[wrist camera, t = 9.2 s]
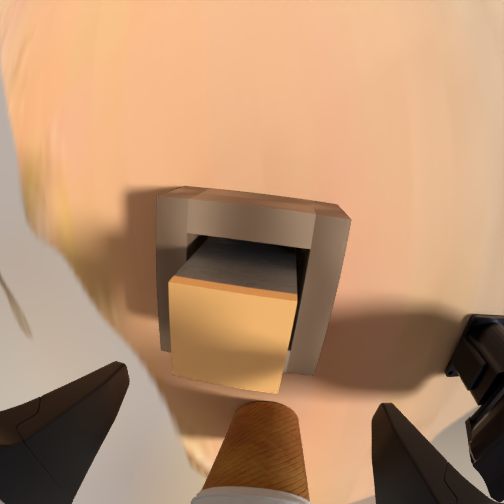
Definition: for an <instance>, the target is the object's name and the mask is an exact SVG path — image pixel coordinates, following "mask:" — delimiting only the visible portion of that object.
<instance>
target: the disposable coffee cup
mask: <svg viewBox="0 0 504 504" xmlns="http://www.w3.org/2000/svg"><path fill="white" fill-rule="evenodd" d="M307 485H308V484H307V477H306V470H305V463H304V455H303V449H302V443H301V435H300V429H299V422H298V417H297V415H296V414H295V412H294V411H292V410H291V409H290V408H288V407H286V406H284V405H282V404H278V403H274V402H263V401H261V402H253V403H249V404H246V405H244V406H242V407H240V408H239V409H238V410H237V411H236V413H235V415H234V418H233V420H232V422H231V425H230V427H229V429H228V432H227V434H226V437H225V439H224V441H223V443H222V446H221V448H220V450H219V453H218V455H217V457H216V459H215V462H214V464H213V466H212V468H211V471H210V473H209V475H208V477H207V479H206V482H205V484H204V486H203V488H202V490H201V491H200V492H199V493H198V494H197V496H196V497H194V498H193V499H192V501H191V504H312V503H310V500H309V493H308V486H307Z"/></svg>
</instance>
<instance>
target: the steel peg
mask: <svg viewBox="0 0 504 504" xmlns="http://www.w3.org/2000/svg"><path fill="white" fill-rule="evenodd" d="M168 284H169V318H170V338H171V354H172V368H173V375H176V376H180V377H184V378H188V379H193V380H197V381H202V382H207V383H212V384H217V385H222V386H228V387H234V388H240V389H246V390H252V391H259V392H266V393H274V394H278V391H279V386H280V382H281V378H282V373H283V369H284V364H285V360H286V355H287V351H288V346H289V341H290V336H291V332H292V327H293V322H294V317H295V312H296V306H297V273H296V250H295V247H290V246H283V245H276V244H268V243H261V242H253V241H246V240H238V239H230V238H223V237H215V236H210V237H209V238H208V239H207V240H206V241H205V242H204V243H203V245H202V246H201V247H200V248H199V249H198V250H197V251H196V252H195V253H194V254H193V255H192V256H191V257H190V259H189V260H188V261H187V262H186V263H185V264H184V265H183V266H182V267H181V268H180V269H179V271H178V272H177V273H176V274H175V275H174V276H173V277H172V278H171V279H170V281H169V282H168Z"/></svg>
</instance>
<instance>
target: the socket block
mask: <svg viewBox="0 0 504 504" xmlns="http://www.w3.org/2000/svg"><path fill="white" fill-rule="evenodd" d="M350 225H351V219H350V218H349V217H348V215H347V214H346V213H345V212H344V211H343V210H342V209H341V208H340V207H339V206H338V205H337V204H331V203H325V202H318V201H311V200H304V199H297V198H290V197H282V196H274V195H266V194H258V193H249V192H240V191H231V190H221V189H211V188H200V187H188V186H184V187H181V188H178V189H176V190H173V191H170V192H167V193H164V194H161V195H159V196H157V204H156V272H157V299H158V317H159V331H160V344H161V350H162V351H167V352H171V338H170V318H169V284H168V282H169V281H170V279H171V278H172V277H173V276H174V275H175V274H176V273H177V272H178V271H179V269H180V268H181V267H182V266H183V265H184V264H185V263H186V262H187V261H188V260H189V259H190V257H191V256H192V255H193V254H194V253H195V252H196V251H197V250H198V249H199V248H200V247H201V246H202V245H203V243H204V242H205V241H206V240H207V239H208V236H215V237H223V238H230V239H238V240H246V241H253V242H261V243H268V244H276V245H283V246H290V247H298V248H303V250H302V256H301V262H300V268H299V274H298V280H297V306H296V312H295V317H294V322H293V327H292V332H291V336H290V341H289V346H288V351H287V355H286V360H285V364H284V369H283V372H285V373H293V374H302V375H313V376H314V373H315V370H316V366H317V363H318V360H319V356H320V353H321V349H322V346H323V342H324V339H325V335H326V331H327V327H328V324H329V320H330V316H331V312H332V308H333V304H334V300H335V296H336V292H337V287H338V283H339V279H340V274H341V270H342V265H343V260H344V256H345V251H346V246H347V241H348V235H349V230H350Z"/></svg>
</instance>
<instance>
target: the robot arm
mask: <svg viewBox="0 0 504 504" xmlns="http://www.w3.org/2000/svg"><path fill="white" fill-rule="evenodd" d="M445 374H446V376H447V377H455V376H460V378H461V380H462V382H463V383H464V385H465V387H466V389H467V390H468V391H469V390H470V392H471V394H472V396H473V397H474V399H475V401H476V403H477V405H481V406H480V407H479V409H478V410H477V411H476V412H475V413H474V414H473V415H472V416H471V417H469V418H468V419H467V420H466V421H465V424H466V430H467V436H468V444H469V452H470V458H471V462H472V464H473V467H474V468H475V469H476V470H477V471H478V472H479V473H480V475H481V476H482V478H483V479H484V481H485V483H486V486H487V488H488V491H489V494H490V496H491V498H493V499H494V500H496V501H498V502H502V501H503V500H504V316H487V315H473V316H472V317H471V318H470V320H469V322H468V324H467V327H466V329H465V331H464V333H463V336H462V338H461V340H460V342H459V344H458V346H457V348H456V350H455V352H454V354H453V356H452V358H451V360H450V362H449V364H448V366H447V368H446V370H445ZM128 386H129V375H128V370H127V366H126V365H125V364H124V363H121V362H117V361H115V362H112V363H110V364H108V365H106V366H104V367H102V368H100V369H98V370H96V371H94V372H92V373H90V374H88V375H86V376H84V377H81V378H79V379H77V380H75V381H73V382H71V383H69V384H67V385H65V386H62V387H60V388H58V389H56V390H54V391H51V392H49V393H47V394H45V395H43V396H41V397H38V398H36V399H34V400H31V401H29V402H27V403H24V404H22V405H19V406H16V407H13V408H10V409H7V410H4V411H0V504H72V502H73V499H74V497H75V495H76V493H77V491H78V489H79V487H80V485H81V483H82V481H83V479H84V478H85V476H86V473H87V471H88V469H89V468H90V466H91V464H92V462H93V460H94V458H95V456H96V454H97V452H98V450H99V449H100V447H101V445H102V443H103V441H104V439H105V437H106V435H107V434H108V432H109V430H110V428H111V426H112V424H113V422H114V420H115V418H116V416H117V414H118V411H119V409H120V406H121V404H122V401H123V399H124V396H125V394H126V391H127V389H128ZM372 466H373V475H374V486H375V497H376V504H504V503H498V502H495V501H493V500H491V499H490V498H488V497H487V496H486V495H485V494H483V493H482V492H481V491H479V490H478V489H477V488H476V487H475V486H473V485H472V484H471V483H470V482H469V481H468V480H466V479H465V478H464V477H463V476H462V475H461V474H460V473H459V472H458V471H457V470H456V469H455V468H453V466H452V465H451V464H450V463H449V462H447V460H446V459H445V458H444V457H443V456H442V455H441V454H440V453H439V452H438V451H437V450H436V449H435V447H434V446H433V445H432V444H431V443H430V442H429V441H428V440H427V439H426V438H425V437H424V436H423V435H422V434H421V433H420V432H419V431H418V430H417V429H416V428H415V426H414V425H413V424H412V423H411V422H410V421H409V420H408V419H407V418H406V417H405V416H404V415H403V414H402V413H401V412H400V411H399V410H398V409H397V408H396V407H395V405H394V404H392V403H381V404H380V405H379V407H378V409H377V411H376V412H375V414H374V416H373V418H372Z"/></svg>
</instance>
